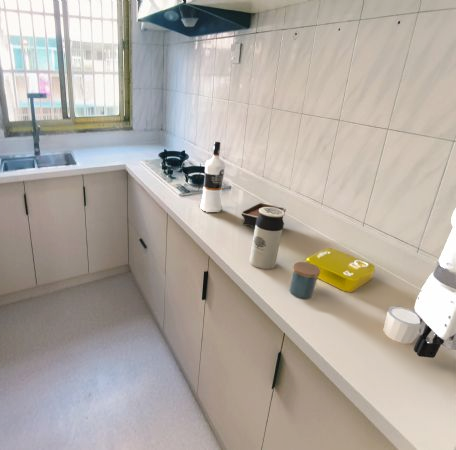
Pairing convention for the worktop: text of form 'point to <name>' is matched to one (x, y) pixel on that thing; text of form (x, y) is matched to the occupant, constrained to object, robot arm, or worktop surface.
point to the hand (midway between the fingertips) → (423, 354)
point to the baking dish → (256, 213)
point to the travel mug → (267, 237)
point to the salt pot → (304, 280)
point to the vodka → (213, 182)
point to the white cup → (401, 324)
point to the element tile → (341, 269)
